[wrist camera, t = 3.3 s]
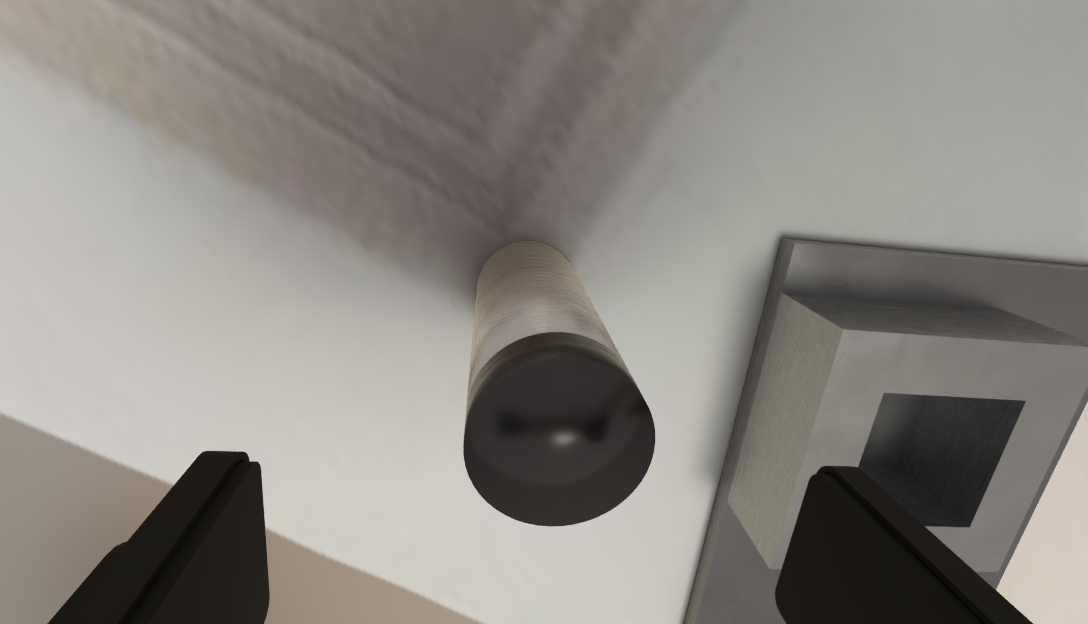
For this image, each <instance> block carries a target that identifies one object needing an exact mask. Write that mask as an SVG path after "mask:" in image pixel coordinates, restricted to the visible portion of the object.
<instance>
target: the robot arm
mask: <svg viewBox="0 0 1088 624" xmlns="http://www.w3.org/2000/svg"><path fill="white" fill-rule="evenodd" d="M775 600H776V605H777V608H778V610H779V612H780V614H781V616H782V617H783V619H784V621H785V622H786V624H1033V623H1032V622H1031V621H1029V620H1028V619H1027V618H1026V617H1025V616H1024V615H1023V614H1022V613H1021V612H1019V611H1018V610H1017V609H1016V608H1015V607H1014V606H1013V605H1012V604H1011V603H1009V602H1008V601H1007V600H1006V599H1005V598H1004V597H1003V596H1002V595H1001V594H999V593H998V592H997V591H996V590H995V589H994V588H993V587H992V586H991V585H989V584H988V583H987V582H986V581H985V580H984V579H983V578H982V577H981V576H979V575H978V574H977V573H976V572H975V571H974V570H973V569H972V568H971V567H969V566H968V565H967V564H966V563H965V562H964V561H963V560H962V559H961V558H959V557H958V556H957V555H956V554H955V553H954V552H953V551H952V550H950V549H949V548H948V547H947V546H946V545H945V544H944V543H943V542H942V541H940V540H939V539H938V538H937V537H936V536H935V535H934V534H933V533H932V532H930V531H929V530H928V529H927V528H926V527H925V526H924V525H923V524H922V523H920V522H919V521H918V520H917V519H916V518H915V517H914V516H913V515H912V514H910V513H909V512H908V511H907V510H906V509H905V508H904V507H903V506H902V505H900V504H899V503H898V502H897V501H896V500H895V499H894V498H893V497H892V496H890V495H889V494H888V493H887V492H886V491H885V490H884V489H883V488H882V487H880V486H879V485H878V484H877V483H876V482H875V481H874V480H873V479H872V478H870V477H869V476H868V475H867V474H866V473H865V472H864V471H863V470H861V469H859V468H858V467H853V466H823V467H821V468H820V469H819V470H818V471H817V473H816V474H814V475H812V476H811V477H810V479H809V481H808V485H807V488H806V491H805V494H804V498H803V501H802V504H801V507H800V511H799V514H798V517H797V520H796V524H795V527H794V530H793V533H792V537H791V540H790V543H789V546H788V550H787V553H786V556H785V559H784V563H783V566H782V569H781V572H780V576H779V579H778V582H777V585H776V589H775ZM268 606H269V581H268V566H267V551H266V536H265V521H264V507H263V492H262V477H261V467H260V464H259V463H258V462H249V457H248V455H247V453H245V452H231V451H205V452H202V453H201V454H200V455H199V456H198V457H197V458H196V460H195V461H194V462H193V463H192V464H191V466H190V467H189V468H188V469H187V470H186V472H185V473H184V474H183V475H182V476H181V478H180V479H179V480H178V481H177V482H176V484H175V485H174V486H173V487H172V488H171V490H170V491H169V492H168V493H167V495H166V496H165V497H164V498H163V499H162V500H161V502H160V503H159V504H158V505H157V507H156V508H155V509H154V510H153V511H152V513H151V514H150V515H149V516H148V517H147V518H146V520H145V521H144V522H143V523H142V524H141V526H140V527H139V528H138V529H137V530H136V532H135V533H134V534H133V535H132V537H131V538H130V539H129V540H128V541H127V542H124V543H122V544H120V545H117V546H116V547H114V548H113V549H112V550H111V551H110V552H109V553H108V554H107V555H106V556H105V557H104V558H103V559H102V561H101V562H100V563H99V564H98V565H97V566H96V568H95V569H94V570H93V571H92V573H91V574H90V575H89V576H88V577H87V578H86V579H85V581H84V582H83V583H82V584H81V585H80V587H78V589H77V590H76V591H75V592H74V593H73V595H72V596H71V597H70V598H69V599H68V600H67V602H66V603H65V604H64V605H63V606H62V607H61V609H60V610H59V611H58V612H57V613H56V615H55V616H54V617H53V618H52V619H51V620H50V621H49V623H48V624H264V622H265V619H266V615H267V612H268Z"/></svg>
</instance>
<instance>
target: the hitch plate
mask: <svg viewBox="0 0 1088 624" xmlns="http://www.w3.org/2000/svg"><path fill="white" fill-rule="evenodd" d="M1087 401H1088V266H1077V265H1066V264H1056V263H1045V262H1034V261H1024V260H1013V259H1002V258H991V257H981V256H970V255H959V254H949V253H938V252H927V251H916V250H906V249H895V248H884V247H873V246H863V245H852V244H841V243H831V242H820V241H809V240H798V239H788V238H782V239H781V243H780V247H779V251H778V255H777V258H776V262H775V266H774V270H773V274H772V278H771V282H770V286H769V290H768V294H767V298H766V302H765V306H764V310H763V314H762V318H761V322H760V326H759V330H758V333H757V337H756V341H755V345H754V349H753V353H752V357H751V361H750V365H749V369H748V373H747V377H746V381H745V385H744V389H743V393H742V397H741V401H740V405H739V408H738V412H737V416H736V420H735V424H734V428H733V432H732V436H731V440H730V444H729V448H728V452H727V456H726V460H725V464H724V468H723V472H722V476H721V480H720V483H719V487H718V491H717V495H716V499H715V503H714V507H713V511H712V515H711V519H710V523H709V527H708V531H707V535H706V539H705V543H704V547H703V551H702V554H701V558H700V562H699V566H698V570H697V574H696V578H695V582H694V586H693V590H692V594H691V598H690V602H689V606H688V610H687V614H686V618H685V622H684V624H786V622H785V621H784V619H783V617H782V616H781V614H780V612H779V610H778V608H777V605H776V600H775V589H776V585H777V582H778V579H779V576H780V572H781V569H782V566H783V563H784V559H785V556H786V553H787V550H788V546H789V543H790V540H791V537H792V533H793V530H794V527H795V524H796V520H797V517H798V514H799V511H800V507H801V504H802V501H803V498H804V494H805V491H806V488H807V485H808V481H809V479H810V477H811V476H812V475H814V474H816V473H817V471H818V470H819V469H820V468H821V467H823V466H853V467H858V468H859V469H861V470H863V471H864V472H865V473H866V474H867V475H868V476H869V477H870V478H872V479H873V480H874V481H875V482H876V483H877V484H878V485H879V486H880V487H882V488H883V489H884V490H885V491H886V492H887V493H888V494H889V495H890V496H892V497H893V498H894V499H895V500H896V501H897V502H898V503H899V504H900V505H902V506H903V507H904V508H905V509H906V510H907V511H908V512H909V513H910V514H912V515H913V516H914V517H915V518H916V519H917V520H918V521H919V522H920V523H922V524H923V525H924V526H925V527H926V528H927V529H928V530H929V531H930V532H932V533H933V534H934V535H935V536H936V537H937V538H938V539H939V540H940V541H942V542H943V543H944V544H945V545H946V546H947V547H948V548H949V549H950V550H952V551H953V552H954V553H955V554H956V555H957V556H958V557H959V558H961V559H962V560H963V561H964V562H965V563H966V564H967V565H968V566H969V567H971V568H972V569H973V570H974V571H975V572H976V573H977V574H978V575H979V576H981V577H982V578H983V579H984V580H985V581H986V582H987V583H988V584H989V585H991V586H992V587H993V588H994V589H995V590H996V588H997V586H998V584H999V582H1000V580H1001V578H1002V576H1003V574H1004V572H1005V570H1006V568H1007V565H1008V563H1009V561H1010V559H1011V557H1012V555H1013V553H1014V551H1015V549H1016V547H1017V545H1018V543H1019V541H1020V539H1021V537H1022V535H1023V533H1024V531H1025V528H1026V526H1027V524H1028V522H1029V520H1030V518H1031V516H1032V514H1033V512H1034V510H1035V508H1036V506H1037V504H1038V502H1039V500H1040V498H1041V496H1042V494H1043V492H1044V489H1045V487H1046V485H1047V483H1048V481H1049V479H1050V477H1051V475H1052V473H1053V471H1054V469H1055V467H1056V465H1057V463H1058V461H1059V459H1060V457H1061V455H1062V453H1063V450H1064V448H1065V446H1066V444H1067V442H1068V440H1069V438H1070V436H1071V434H1072V432H1073V430H1074V428H1075V426H1076V424H1077V422H1078V420H1079V418H1080V416H1081V414H1082V411H1083V409H1084V407H1085V405H1086V403H1087Z"/></svg>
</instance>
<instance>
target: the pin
mask: <svg viewBox="0 0 1088 624" xmlns="http://www.w3.org/2000/svg"><path fill="white" fill-rule="evenodd" d="M654 446H655V428H654V422H653V418H652V415H651V412H650V410H649V408H648V406H647V404H646V402H645V400H644V398H643V396H642V394H641V393H640V391H639V389H638V387H637V385H636V383H635V381H634V380H633V378H632V376H631V374H630V372H629V370H628V369H627V367H626V365H625V363H624V361H623V359H622V358H621V356H620V354H619V352H618V350H617V348H616V347H615V345H614V343H613V341H612V339H611V337H610V336H609V334H608V332H607V330H606V328H605V326H604V324H603V323H602V321H601V319H600V317H599V315H598V313H597V312H596V310H595V308H594V306H593V304H592V302H591V301H590V299H589V297H588V295H587V293H586V291H585V290H584V288H583V286H582V284H581V282H580V280H579V279H578V277H577V275H576V273H575V271H574V269H573V267H572V266H571V264H570V262H569V261H568V260H567V258H566V257H565V256H564V255H563V254H562V253H561V252H559V251H558V250H557V249H555V248H554V247H552V246H550V245H547V244H545V243H542V242H537V241H518V242H514V243H511V244H508V245H506V246H504V247H502V248H500V249H499V250H497V251H496V252H495V253H494V254H492V255H491V256H490V257H489V259H488V260H487V261H486V262H485V264H484V266H483V267H482V269H481V272H480V274H479V277H478V282H477V291H476V303H475V315H474V326H473V338H472V350H471V362H470V374H469V386H468V398H467V410H466V422H465V434H464V460H465V466H466V469H467V472H468V475H469V477H470V479H471V481H472V483H473V485H474V487H475V488H476V490H477V491H478V493H479V494H480V495H481V496H482V497H483V498H484V499H485V500H486V501H487V502H488V503H489V504H490V505H491V506H492V507H494V508H495V509H496V510H498V511H500V512H501V513H503V514H505V515H506V516H509V517H511V518H513V519H515V520H518V521H521V522H525V523H529V524H534V525H540V526H565V525H572V524H577V523H581V522H585V521H588V520H591V519H593V518H596V517H598V516H600V515H602V514H604V513H606V512H608V511H610V510H611V509H613V508H615V507H616V506H618V505H619V504H620V503H621V502H623V501H624V500H625V499H626V498H627V497H628V496H629V495H630V494H631V493H632V492H633V491H634V490H635V489H636V488H637V486H638V485H639V484H640V482H641V481H642V479H643V478H644V476H645V474H646V473H647V470H648V468H649V466H650V463H651V460H652V457H653V453H654Z"/></svg>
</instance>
